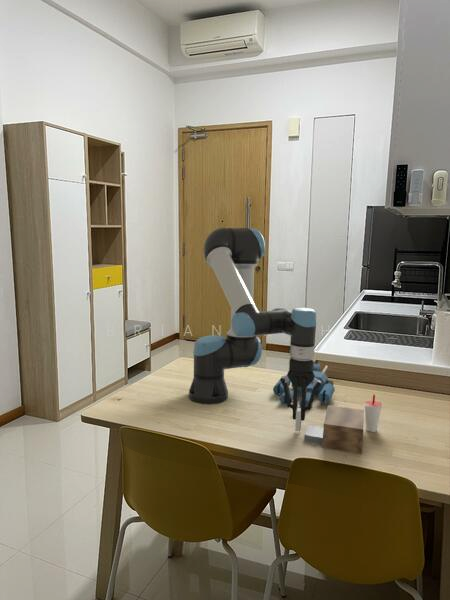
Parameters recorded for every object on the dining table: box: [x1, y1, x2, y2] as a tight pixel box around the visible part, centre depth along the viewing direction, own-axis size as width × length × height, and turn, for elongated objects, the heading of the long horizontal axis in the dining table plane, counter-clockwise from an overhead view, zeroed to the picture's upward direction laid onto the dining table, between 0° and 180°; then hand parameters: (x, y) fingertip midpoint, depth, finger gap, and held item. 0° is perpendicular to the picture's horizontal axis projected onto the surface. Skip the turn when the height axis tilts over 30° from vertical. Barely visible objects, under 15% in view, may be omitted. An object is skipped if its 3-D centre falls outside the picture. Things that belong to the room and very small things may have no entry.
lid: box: [303, 424, 324, 445], centre depth 140 cm, size 13×8×2 cm, turn 72°
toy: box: [272, 362, 336, 408], centre depth 178 cm, size 22×9×30 cm
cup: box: [364, 394, 383, 433], centre depth 147 cm, size 5×5×12 cm
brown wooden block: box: [322, 405, 365, 455], centre depth 140 cm, size 11×15×8 cm
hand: (298, 429), depth 145 cm, fingers closed
